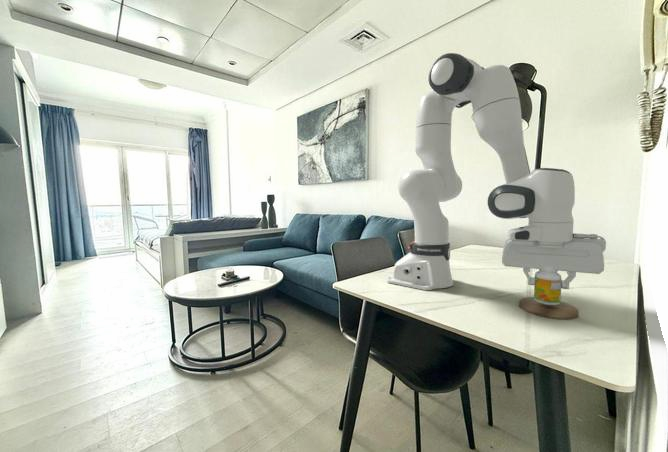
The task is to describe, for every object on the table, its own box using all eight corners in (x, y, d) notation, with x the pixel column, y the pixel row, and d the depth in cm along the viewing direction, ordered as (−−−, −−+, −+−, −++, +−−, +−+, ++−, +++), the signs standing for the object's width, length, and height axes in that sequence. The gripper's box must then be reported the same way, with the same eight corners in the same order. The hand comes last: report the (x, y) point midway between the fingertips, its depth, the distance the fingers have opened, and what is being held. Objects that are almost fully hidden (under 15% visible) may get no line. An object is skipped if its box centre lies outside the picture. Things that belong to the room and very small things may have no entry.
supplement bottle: (528, 298, 72) (529, 262, 72) (547, 297, 73) (549, 261, 72) (545, 306, 67) (547, 267, 66) (566, 304, 67) (568, 266, 67)
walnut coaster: (520, 313, 68) (520, 309, 68) (517, 298, 78) (518, 294, 78) (584, 323, 62) (584, 319, 62) (572, 305, 72) (572, 301, 72)
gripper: (602, 232, 66) (598, 288, 67) (502, 230, 76) (501, 278, 78) (611, 236, 60) (607, 296, 62) (502, 233, 71) (501, 284, 72)
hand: (547, 286), depth 70 cm, fingers closed on supplement bottle, 5 cm apart
